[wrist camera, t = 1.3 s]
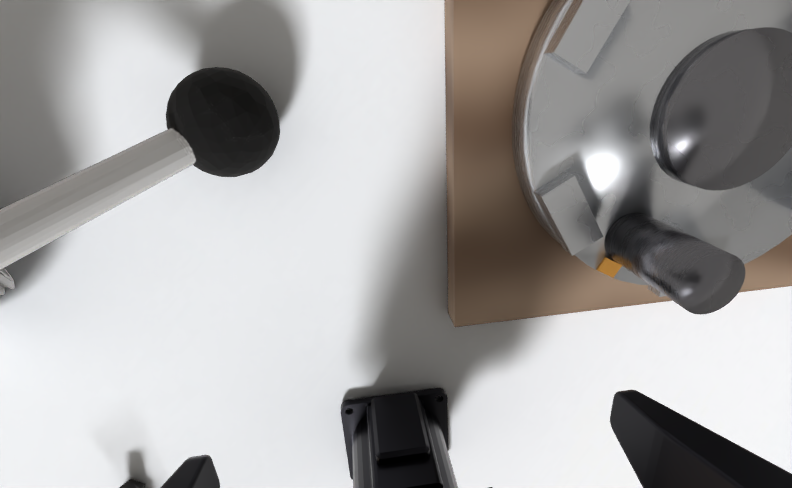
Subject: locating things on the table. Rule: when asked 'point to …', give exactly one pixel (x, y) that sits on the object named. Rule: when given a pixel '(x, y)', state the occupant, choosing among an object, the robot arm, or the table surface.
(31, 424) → the table surface
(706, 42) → the rotary indexing table
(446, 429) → the robot arm
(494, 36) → the base plate
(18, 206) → the mechanical valve
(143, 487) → the soldier figurine
